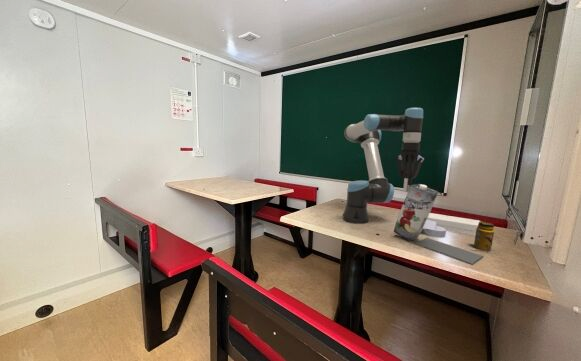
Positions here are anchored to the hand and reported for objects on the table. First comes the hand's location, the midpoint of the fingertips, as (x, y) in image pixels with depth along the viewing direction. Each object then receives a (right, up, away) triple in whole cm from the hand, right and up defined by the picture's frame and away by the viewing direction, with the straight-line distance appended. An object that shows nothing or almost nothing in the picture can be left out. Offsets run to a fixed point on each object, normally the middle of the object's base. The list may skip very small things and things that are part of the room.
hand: (406, 191), depth 112 cm
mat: (+12, -25, -11) cm, 30 cm away
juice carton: (0, -22, +2) cm, 22 cm away
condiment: (+29, -25, -7) cm, 40 cm away
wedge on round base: (+17, -22, +9) cm, 30 cm away
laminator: (+30, -22, +19) cm, 42 cm away
